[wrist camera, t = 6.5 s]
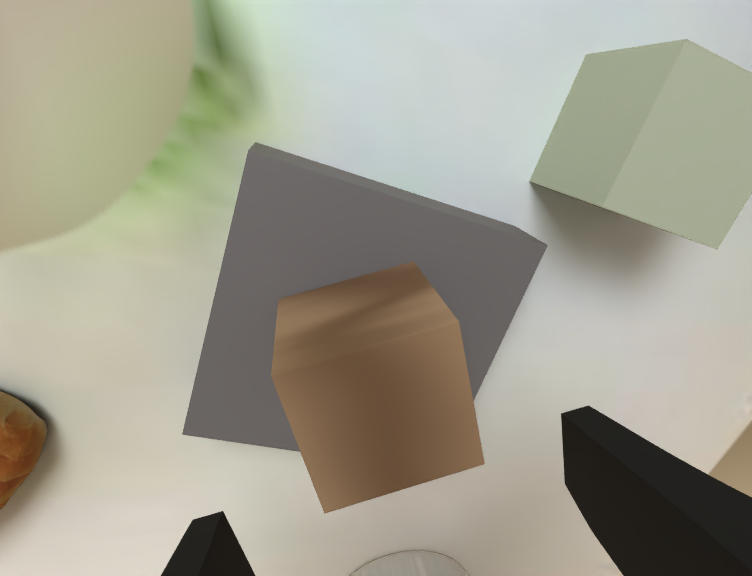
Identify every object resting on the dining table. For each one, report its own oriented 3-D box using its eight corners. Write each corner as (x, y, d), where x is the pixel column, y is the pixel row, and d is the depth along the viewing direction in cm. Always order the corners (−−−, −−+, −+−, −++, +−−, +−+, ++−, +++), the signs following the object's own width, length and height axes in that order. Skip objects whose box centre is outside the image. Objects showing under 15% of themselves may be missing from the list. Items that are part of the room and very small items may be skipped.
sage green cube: (682, 101, 17) (807, 101, 13) (622, 215, 18) (717, 249, 14) (584, 54, 16) (686, 39, 12) (528, 180, 17) (602, 206, 13)
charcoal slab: (509, 222, 18) (547, 245, 15) (420, 423, 21) (439, 471, 19) (256, 141, 15) (248, 150, 13) (198, 384, 19) (182, 434, 16)
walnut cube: (413, 261, 15) (459, 321, 11) (437, 374, 17) (484, 463, 12) (278, 299, 14) (270, 375, 10) (317, 409, 16) (324, 513, 12)
